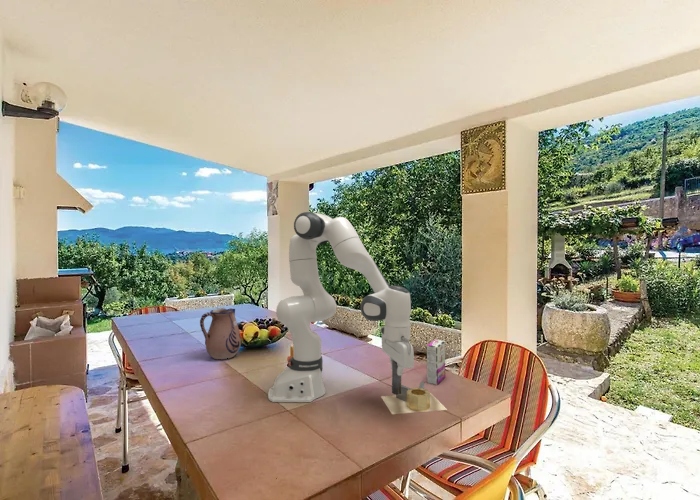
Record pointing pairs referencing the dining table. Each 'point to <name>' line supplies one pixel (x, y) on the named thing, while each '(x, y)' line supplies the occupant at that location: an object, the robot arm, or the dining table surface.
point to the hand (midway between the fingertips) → (396, 372)
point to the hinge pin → (395, 379)
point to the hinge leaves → (415, 397)
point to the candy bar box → (435, 362)
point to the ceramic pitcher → (221, 333)
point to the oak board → (401, 406)
